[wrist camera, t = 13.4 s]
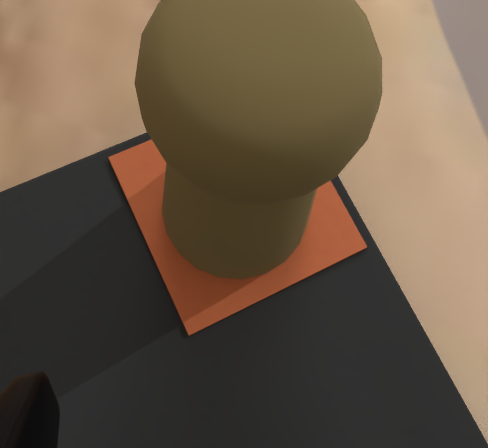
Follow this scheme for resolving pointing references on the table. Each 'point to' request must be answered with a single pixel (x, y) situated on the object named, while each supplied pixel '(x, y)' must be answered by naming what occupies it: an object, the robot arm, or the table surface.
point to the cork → (253, 119)
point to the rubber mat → (210, 325)
